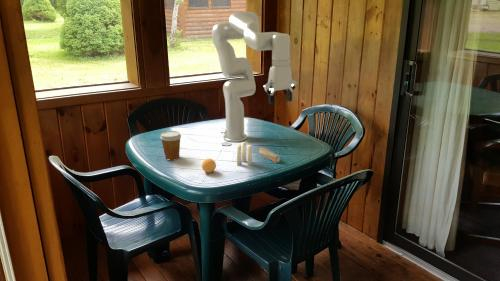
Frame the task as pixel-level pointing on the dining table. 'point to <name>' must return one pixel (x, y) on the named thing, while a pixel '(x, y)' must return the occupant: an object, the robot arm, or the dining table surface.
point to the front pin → (239, 155)
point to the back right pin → (249, 154)
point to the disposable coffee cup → (171, 144)
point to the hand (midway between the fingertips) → (280, 102)
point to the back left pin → (243, 151)
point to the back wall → (269, 154)
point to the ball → (208, 165)
